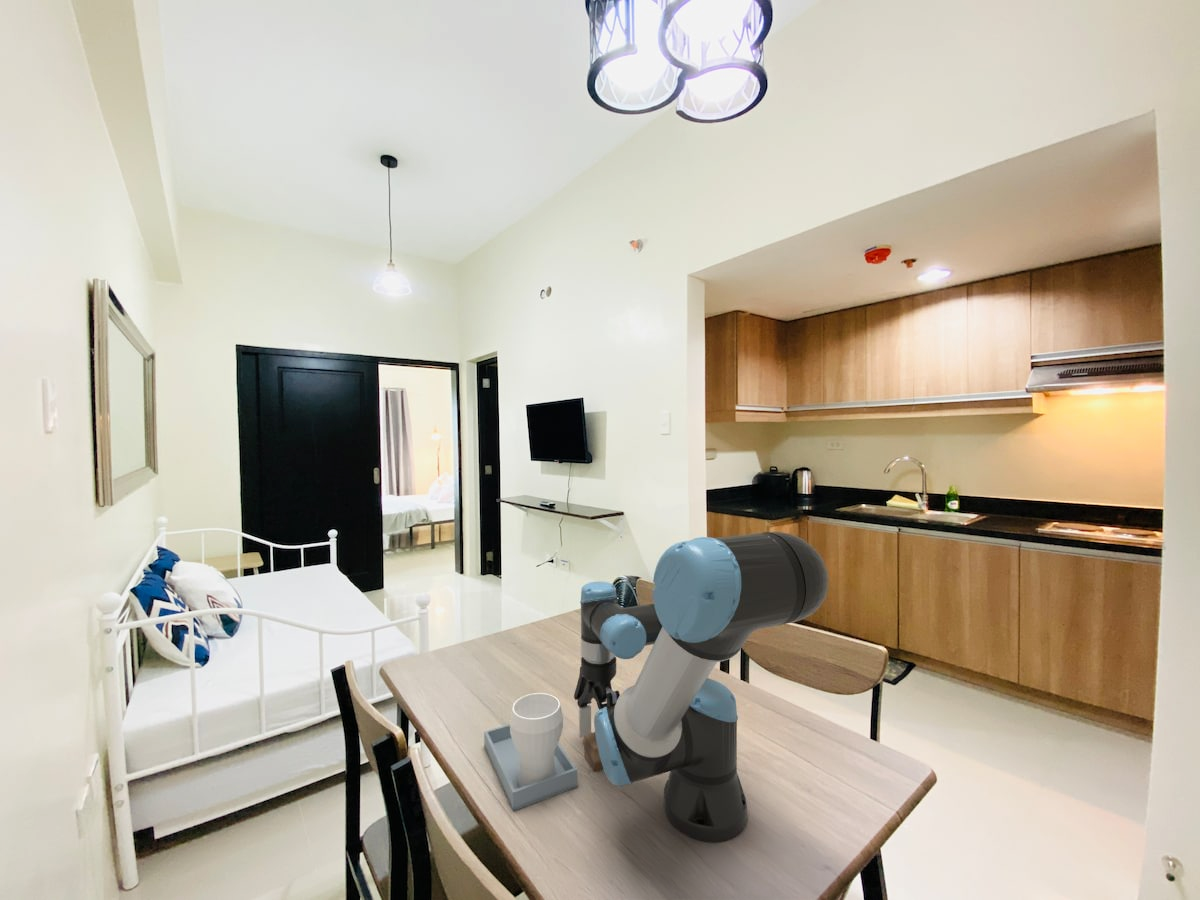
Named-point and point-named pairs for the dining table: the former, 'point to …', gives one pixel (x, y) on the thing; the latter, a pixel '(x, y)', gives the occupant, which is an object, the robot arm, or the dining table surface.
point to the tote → (508, 769)
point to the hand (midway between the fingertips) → (599, 753)
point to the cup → (536, 735)
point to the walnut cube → (592, 752)
